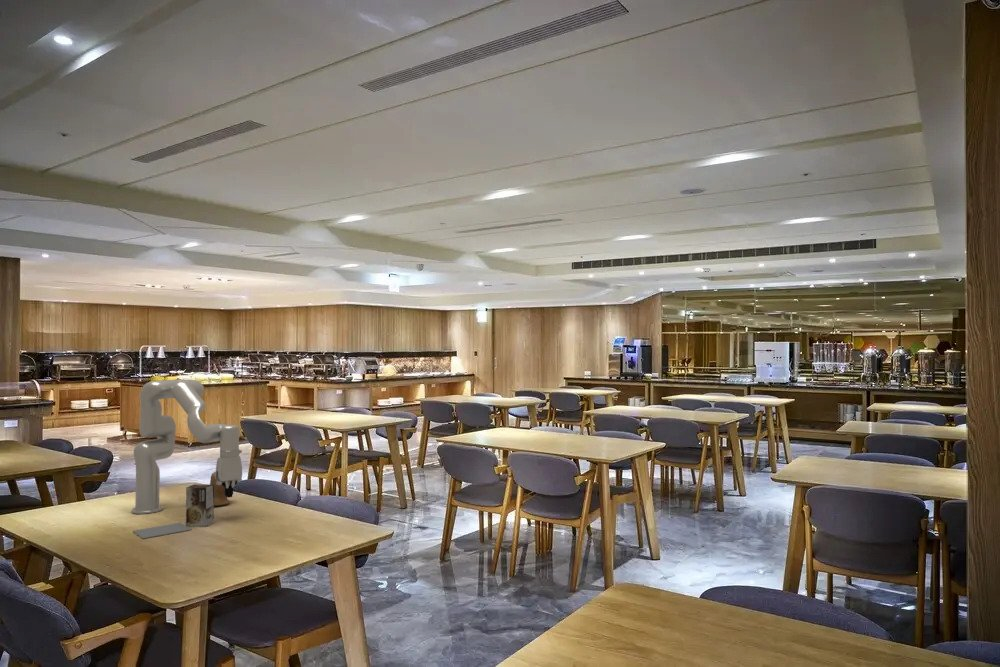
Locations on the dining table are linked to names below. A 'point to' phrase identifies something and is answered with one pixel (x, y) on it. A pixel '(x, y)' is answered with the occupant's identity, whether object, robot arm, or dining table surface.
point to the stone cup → (218, 492)
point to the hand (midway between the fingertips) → (228, 496)
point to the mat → (161, 530)
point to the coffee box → (199, 505)
